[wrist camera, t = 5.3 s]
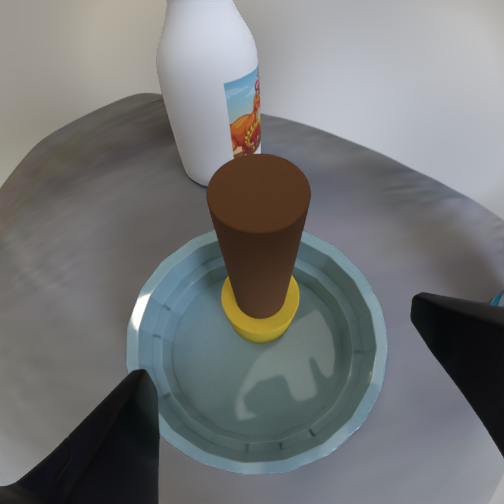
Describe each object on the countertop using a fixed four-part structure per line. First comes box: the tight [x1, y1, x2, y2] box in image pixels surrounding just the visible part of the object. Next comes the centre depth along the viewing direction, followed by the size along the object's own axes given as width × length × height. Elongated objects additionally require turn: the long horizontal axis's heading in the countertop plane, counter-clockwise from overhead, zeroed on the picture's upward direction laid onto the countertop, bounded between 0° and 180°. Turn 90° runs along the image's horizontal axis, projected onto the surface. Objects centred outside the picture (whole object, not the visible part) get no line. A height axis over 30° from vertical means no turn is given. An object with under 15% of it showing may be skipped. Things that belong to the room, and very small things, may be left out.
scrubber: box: [207, 154, 311, 343], centre depth 13 cm, size 4×4×13 cm
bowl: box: [126, 230, 388, 475], centre depth 16 cm, size 15×15×5 cm
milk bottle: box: [156, 0, 261, 187], centre depth 17 cm, size 8×8×20 cm
